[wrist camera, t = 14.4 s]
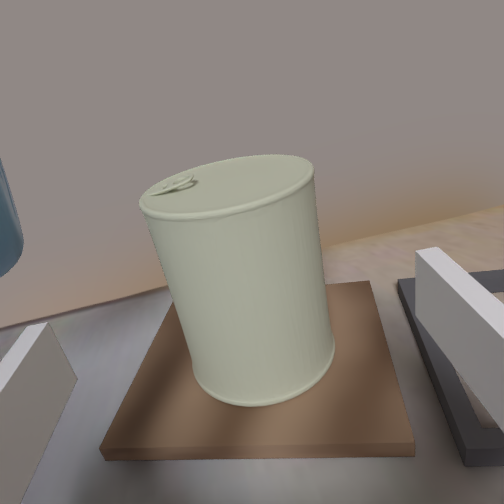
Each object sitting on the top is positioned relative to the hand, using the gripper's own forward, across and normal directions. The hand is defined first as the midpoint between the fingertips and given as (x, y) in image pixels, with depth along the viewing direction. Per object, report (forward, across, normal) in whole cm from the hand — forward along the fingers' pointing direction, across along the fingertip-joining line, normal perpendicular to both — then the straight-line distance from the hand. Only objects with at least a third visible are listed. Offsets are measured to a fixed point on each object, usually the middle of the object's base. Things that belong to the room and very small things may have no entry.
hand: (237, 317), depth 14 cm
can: (+8, 0, -9) cm, 12 cm away
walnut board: (+8, 0, -10) cm, 13 cm away
